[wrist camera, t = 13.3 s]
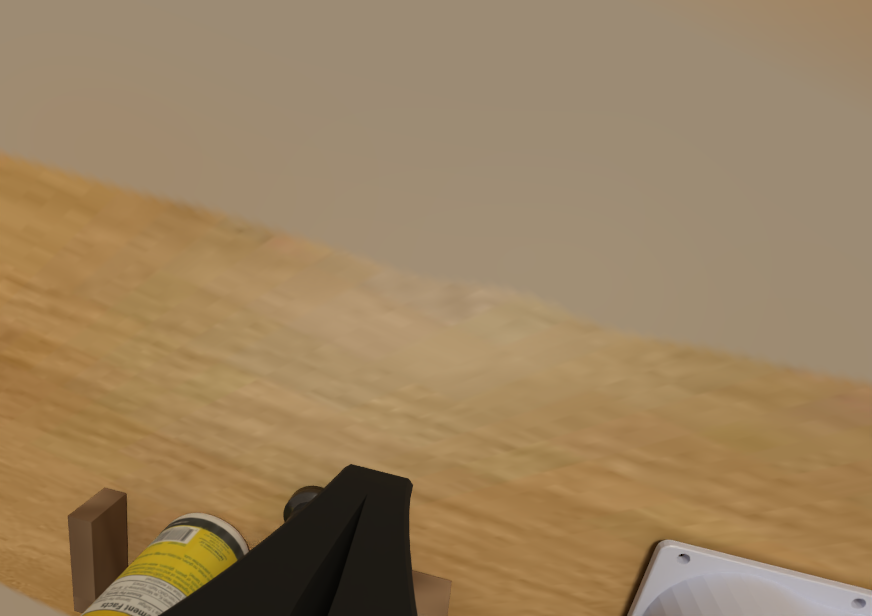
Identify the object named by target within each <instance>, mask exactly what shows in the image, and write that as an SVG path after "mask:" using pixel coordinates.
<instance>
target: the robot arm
mask: <svg viewBox="0 0 872 616" xmlns="http://www.w3.org/2000/svg"><path fill="white" fill-rule="evenodd" d="M412 488H413V484H412V483H411V481H410V480H409V479H408V478H404V477H400V476H396V475H392V474H388V473H384V472H380V471H376V470H372V469H368V468H364V467H360V466H356V465H352V464H350V465H349V466H347V467H345V468H344V469H343V470H342V471H341V472H340V473H339V474H338V475H337V476H336V477H335V478H334V479H333V480H332V481H331V482H330V483H329V484H328V485H327V486H326V487H325V488H324V489H323V490H321V491H320V492H319V493H318V494H317V495H316V496H315V497H314V498H313V499H312V500H311V501H309V502H308V503H307V504H306V505H305V506H304V507H303V508H302V509H300V510H299V511H298V512H297V513H296V514H295V515H293V516H292V517H291V518H290V519H289V520H288V521H286V522H285V523H284V524H283V525H282V526H281V527H279V528H278V529H277V530H276V531H275V532H273V533H272V534H271V535H270V536H268V537H267V538H266V539H265V540H263V541H262V542H261V543H259V544H258V545H257V546H256V547H254V548H253V549H252V550H250V551H249V552H248V553H246V554H245V555H244V556H243V557H241V558H240V559H239V560H237V561H236V562H235V563H233V564H232V565H231V566H230V567H228V568H227V569H226V570H224V571H223V572H221V573H220V574H219V575H217V576H216V577H214V578H213V579H212V580H210V581H209V582H207V583H206V584H205V585H203V586H202V587H200V588H199V589H197V590H196V591H194V592H193V593H192V594H190V595H189V596H187V597H185V598H184V599H182V600H181V601H179V602H178V603H176V604H175V605H173V606H172V607H170V608H169V609H167V610H166V611H164V612H163V613H161V614H160V615H158V616H418V614H417V607H416V601H415V593H414V585H413V576H412V565H411V554H410V538H409V508H410V497H411V493H412ZM680 554H685V555H684V556H679V555H680ZM627 616H872V590H868V589H864V588H860V587H857V586H853V585H849V584H845V583H841V582H837V581H833V580H829V579H825V578H821V577H817V576H813V575H809V574H805V573H801V572H797V571H793V570H789V569H785V568H781V567H777V566H773V565H769V564H765V563H761V562H757V561H753V560H749V559H745V558H741V557H737V556H733V555H729V554H725V553H721V552H717V551H713V550H709V549H706V548H702V547H698V546H694V545H690V544H686V543H682V542H678V541H674V540H663V541H661V542H660V543H658V545H657V546H656V548H655V551H654V553H653V556H652V558H651V560H650V563H649V565H648V567H647V570H646V572H645V574H644V577H643V579H642V582H641V584H640V586H639V589H638V591H637V593H636V596H635V598H634V601H633V603H632V605H631V608H630V610H629V612H628V615H627Z"/></svg>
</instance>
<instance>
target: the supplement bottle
mask: <svg viewBox="0 0 872 616" xmlns="http://www.w3.org/2000/svg"><path fill="white" fill-rule="evenodd" d="M248 552H249V550H248V547H247V544H246V542H245V540H244V539H243V537H242V536H241V534H240V533H239V532H238V531H237V530H236V529H235V528H234V527H233V526H231V525H230V524H229V523H227V522H225V521H223V520H222V519H220V518H217V517H215V516H212V515H209V514H205V513H190V514H186V515H183V516H180V517H178V518H177V519H175V520H174V521H172V522H171V523H170V524H169V525H168V526H167V527H166V528H165V529H164V530H163V531H162V532H161V533H160V534H159V535H158V536H157V537H156V538H155V540H154V541H153V542H152V543H151V544H150V545H149V546H148V547H147V548H146V549H145V550H144V551H143V552H142V553H141V554H140V555H139V556H138V557H137V558H136V559H135V560H134V561H133V562H132V563H131V564H130V565H129V566H128V567H127V569H126V570H125V571H124V572H123V573H122V574H121V575H120V576H119V577H118V578H117V579H116V580H115V581H114V582H113V583H112V584H111V585H110V586H109V587H108V588H107V589H106V590H105V591H104V592H103V593H102V594H101V595H100V596H99V597H98V598H97V599H96V600H95V601H94V602H93V603H92V604H91V605H90V606H89V607H88V608H87V609H86V611H85V612H84V613H83V614H82V615H81V616H158V615H160V614H161V613H163V612H164V611H166V610H167V609H169V608H170V607H172V606H173V605H175V604H176V603H178V602H179V601H181V600H182V599H184V598H185V597H187V596H189V595H190V594H192V593H193V592H194V591H196V590H197V589H199V588H200V587H202V586H203V585H205V584H206V583H207V582H209V581H210V580H212V579H213V578H214V577H216V576H217V575H219V574H220V573H221V572H223V571H224V570H226V569H227V568H228V567H230V566H231V565H232V564H233V563H235V562H236V561H237V560H239V559H240V558H241V557H243V556H244V555H245V554H246V553H248Z"/></svg>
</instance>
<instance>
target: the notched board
mask: <svg viewBox="0 0 872 616" xmlns="http://www.w3.org/2000/svg"><path fill="white" fill-rule="evenodd" d="M68 527H69V541H70V555H71V569H72V583H73V597H74V611H77V612H80V613H84V612H85V611H86V609H87V608H88V607H89V606H90V605H91V604H92V603H93V602H94V601H95V600H96V599H97V598H98V597H99V596H100V595H101V594H102V593H103V592H104V591H105V590H106V589H107V588H108V587H109V586H110V585H111V584H112V583H113V582H114V581H115V580H116V579H117V578H118V577H119V576H120V575H121V574H122V573H123V572H124V571H125V570H126V569H127V567H128V559H127V515H126V493H122V492H118V491H115V490H111V489H107V488H103V489H102V490H101V491H100V492H98V493H97V494H96V495H94V496H93V497H92V498H90V499H89V500H88V501H87V502H85V503H84V504H83V505H81V506H80V507H79V508H77V509H76V510H75V511H73V512H72V513H71V514H70V515H68ZM412 576H413V585H414V593H415V601H416V607H417V614H418V616H448V608H449V599H450V591H451V582H452V581H449V580H446V579H442V578H438V577H435V576H431V575H427V574H423V573H420V572H416V571H412Z"/></svg>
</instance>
